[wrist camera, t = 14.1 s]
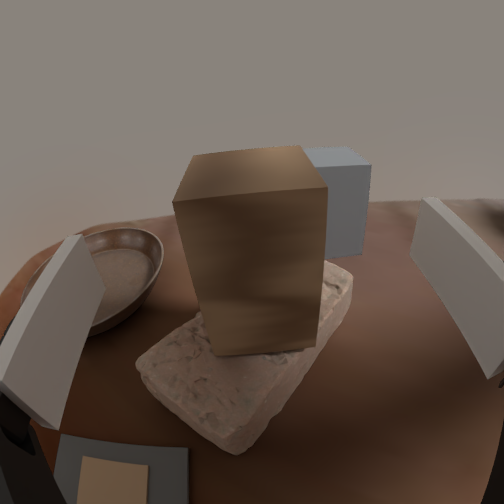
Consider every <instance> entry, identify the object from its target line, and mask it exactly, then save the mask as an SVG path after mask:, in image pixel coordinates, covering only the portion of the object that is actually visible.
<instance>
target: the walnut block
mask: <svg viewBox="0 0 504 504" xmlns="http://www.w3.org/2000/svg"><path fill="white" fill-rule="evenodd" d="M172 203H173V208H174V211H175V216H176V220H177V224H178V228H179V232H180V236H181V240H182V244H183V248H184V252H185V256H186V260H187V264H188V267H189V271H190V275H191V278H192V282H193V286H194V289H195V293H196V296H197V300H198V303H199V306H200V310H201V313H202V317H203V320H204V323H205V327H206V330H207V333H208V336H209V340H210V343H211V346H212V349H213V352H214V355H215V356H226V355H241V354H255V353H266V352H277V351H286V350H295V349H304V348H312V347H316V341H317V333H318V324H319V315H320V305H321V295H322V284H323V272H324V259H325V245H326V228H327V208H328V186H327V185H326V183H325V181H324V180H323V178H322V177H321V175H320V174H319V172H318V171H317V170H316V168H315V167H314V165H313V164H312V162H311V161H310V159H309V158H308V156H307V155H306V154H305V152H304V151H303V149H302V148H301V146H284V147H269V148H257V149H246V150H235V151H226V152H218V153H209V154H202V155H195V156H193V157H192V160H191V161H190V164H189V166H188V168H187V170H186V172H185V175H184V177H183V179H182V181H181V183H180V186H179V188H178V190H177V192H176V195H175V197H174V199H173V201H172Z"/></svg>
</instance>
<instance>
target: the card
mask: <svg viewBox="0 0 504 504" xmlns="http://www.w3.org/2000/svg"><path fill="white" fill-rule="evenodd" d="M53 477H54V479H55V481H56V483H57V485H58V487H59V489H60V491H61V493H62V495H63V497H64V499H65V501H66V503H67V504H189V448H184V447H157V446H142V445H131V444H122V443H113V442H106V441H99V440H93V439H87V438H81V437H76V436H71V435H66V434H61V438H60V442H59V447H58V452H57V458H56V463H55V469H54V475H53Z"/></svg>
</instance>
